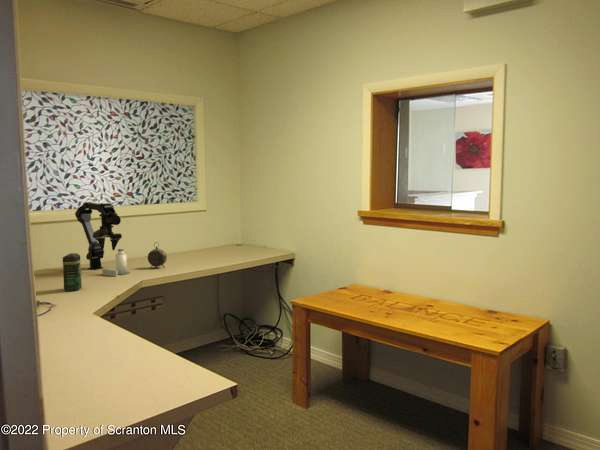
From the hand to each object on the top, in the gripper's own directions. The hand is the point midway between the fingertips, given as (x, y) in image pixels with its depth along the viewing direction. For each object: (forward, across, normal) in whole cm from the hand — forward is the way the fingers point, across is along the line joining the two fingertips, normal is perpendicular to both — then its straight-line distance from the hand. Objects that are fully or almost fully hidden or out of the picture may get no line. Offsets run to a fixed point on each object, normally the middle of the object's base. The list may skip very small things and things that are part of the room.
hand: (107, 249), depth 311 cm
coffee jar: (+13, +22, -43) cm, 50 cm away
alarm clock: (+13, +20, +20) cm, 31 cm away
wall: (+13, +12, -10) cm, 20 cm away
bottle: (+13, +13, -2) cm, 18 cm away
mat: (+13, +13, -2) cm, 18 cm away
